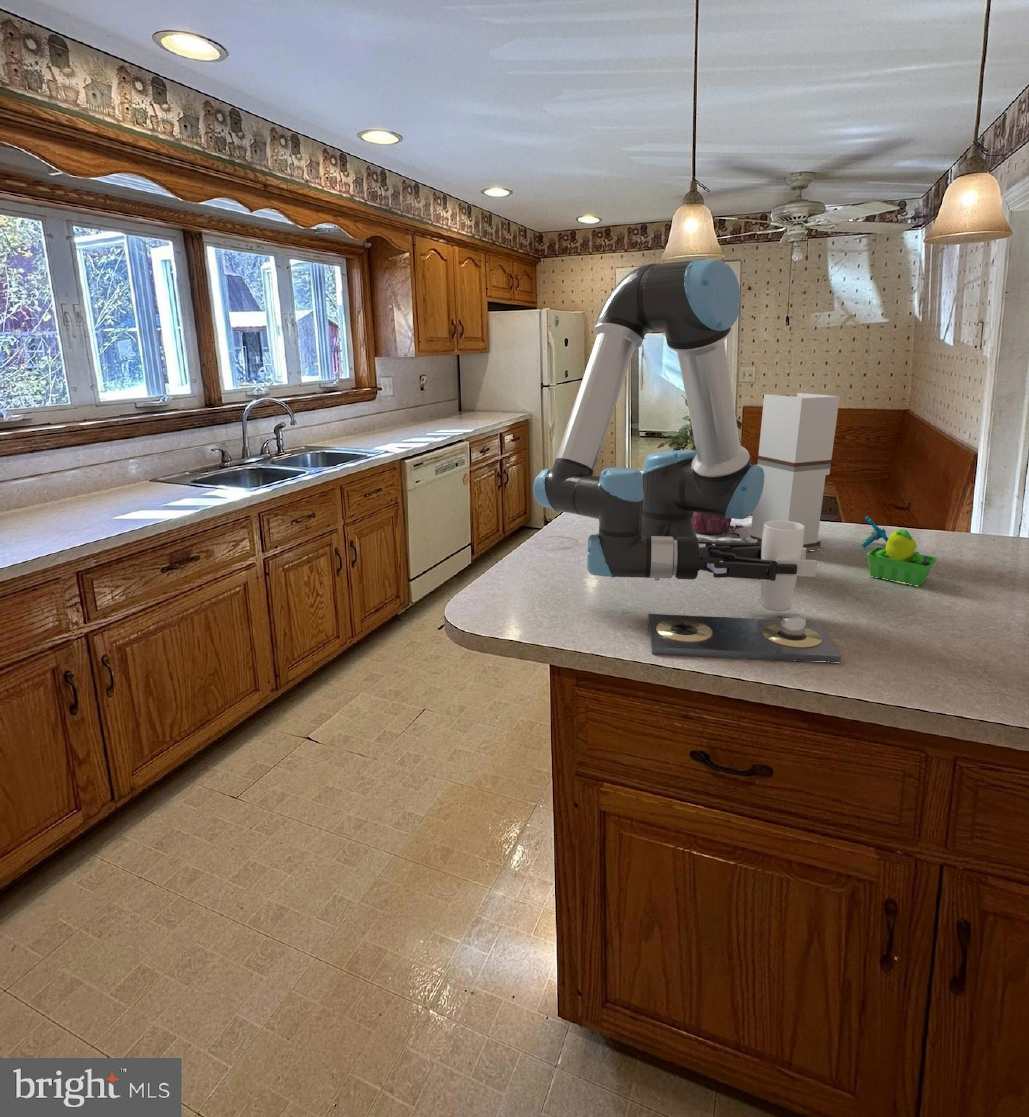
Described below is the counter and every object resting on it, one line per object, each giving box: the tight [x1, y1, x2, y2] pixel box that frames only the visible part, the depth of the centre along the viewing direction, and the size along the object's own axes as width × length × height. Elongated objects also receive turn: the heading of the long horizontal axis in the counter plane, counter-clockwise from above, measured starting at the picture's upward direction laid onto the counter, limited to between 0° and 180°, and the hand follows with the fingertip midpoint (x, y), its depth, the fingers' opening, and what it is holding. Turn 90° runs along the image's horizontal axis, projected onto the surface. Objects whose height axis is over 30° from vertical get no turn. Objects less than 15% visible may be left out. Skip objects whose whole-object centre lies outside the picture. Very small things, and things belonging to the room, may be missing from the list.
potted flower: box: [656, 394, 757, 543], centre depth 177 cm, size 27×25×35 cm
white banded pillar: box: [750, 392, 840, 551], centre depth 162 cm, size 11×11×35 cm
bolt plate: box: [647, 613, 842, 663], centre depth 115 cm, size 28×14×4 cm, turn 82°
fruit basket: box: [866, 528, 937, 586], centre depth 142 cm, size 11×9×11 cm
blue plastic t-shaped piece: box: [860, 515, 889, 548], centre depth 166 cm, size 11×6×10 cm
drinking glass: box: [759, 521, 805, 612], centre depth 123 cm, size 7×7×15 cm
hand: (810, 561), depth 122 cm, fingers closed on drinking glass, 6 cm apart
